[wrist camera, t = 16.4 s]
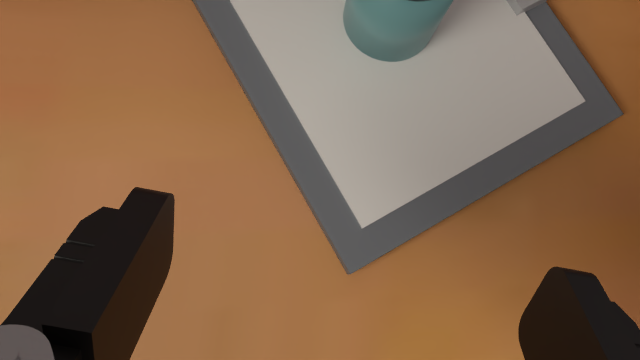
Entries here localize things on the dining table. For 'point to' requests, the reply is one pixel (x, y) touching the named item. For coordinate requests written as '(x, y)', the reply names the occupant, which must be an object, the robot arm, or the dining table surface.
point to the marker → (392, 26)
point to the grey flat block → (407, 109)
